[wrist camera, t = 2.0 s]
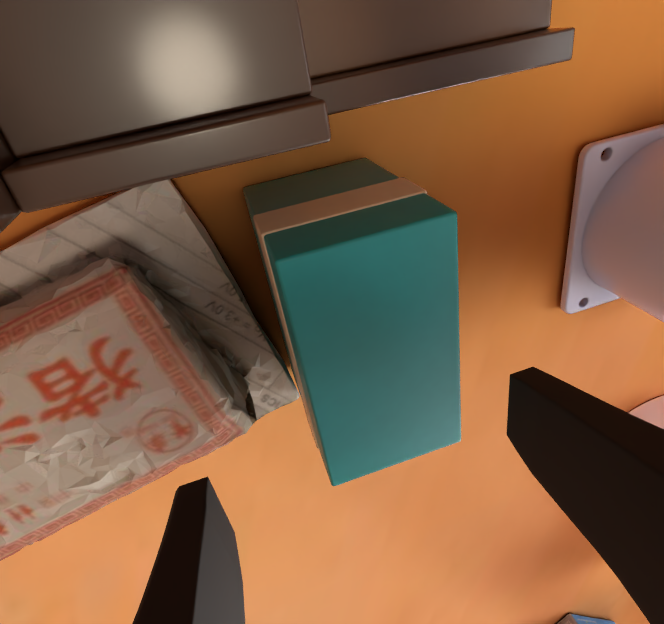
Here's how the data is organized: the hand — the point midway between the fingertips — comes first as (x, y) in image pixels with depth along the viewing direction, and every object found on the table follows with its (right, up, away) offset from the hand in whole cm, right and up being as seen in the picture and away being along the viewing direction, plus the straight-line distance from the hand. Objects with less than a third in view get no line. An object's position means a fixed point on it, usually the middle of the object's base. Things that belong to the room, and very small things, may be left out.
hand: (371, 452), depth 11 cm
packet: (-1, +5, +8) cm, 9 cm away
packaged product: (-12, 0, +7) cm, 14 cm away
